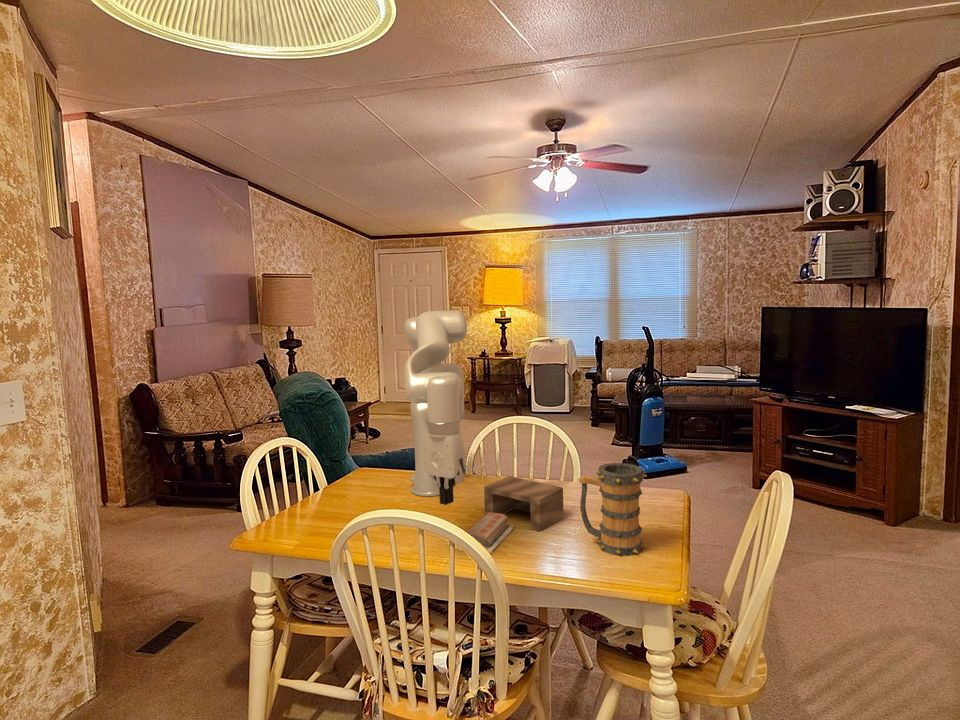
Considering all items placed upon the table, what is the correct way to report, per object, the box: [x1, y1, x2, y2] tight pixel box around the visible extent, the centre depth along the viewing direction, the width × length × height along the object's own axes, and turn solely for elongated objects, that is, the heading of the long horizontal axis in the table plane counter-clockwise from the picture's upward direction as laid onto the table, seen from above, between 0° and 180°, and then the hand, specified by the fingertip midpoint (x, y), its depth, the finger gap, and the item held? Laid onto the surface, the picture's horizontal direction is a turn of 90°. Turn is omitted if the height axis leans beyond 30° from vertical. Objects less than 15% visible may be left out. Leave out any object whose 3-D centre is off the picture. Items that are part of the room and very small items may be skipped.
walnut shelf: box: [483, 475, 564, 532], centre depth 167 cm, size 19×12×9 cm, turn 51°
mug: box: [576, 462, 648, 557], centre depth 146 cm, size 13×17×20 cm
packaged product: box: [456, 512, 515, 554], centre depth 154 cm, size 18×5×10 cm
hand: (446, 502), depth 141 cm, fingers closed
